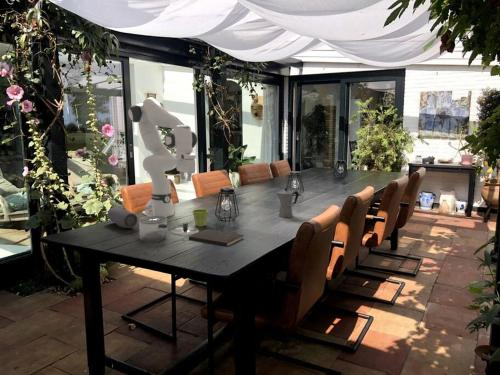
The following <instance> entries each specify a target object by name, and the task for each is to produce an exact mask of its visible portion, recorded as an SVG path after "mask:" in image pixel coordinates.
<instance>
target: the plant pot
mask: <svg viewBox="0 0 500 375" xmlns="http://www.w3.org/2000/svg"><path fill="white" fill-rule="evenodd" d="M191 212H192V214H193V218H194V224H195V225H194V226H196V227H205V226H207V221H208V213H209V210H208V209H205V208H197V209H192V210H191Z"/></svg>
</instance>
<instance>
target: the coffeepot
mask: <svg viewBox="0 0 500 375" xmlns="http://www.w3.org/2000/svg"><path fill="white" fill-rule="evenodd" d="M275 195H276V196H277V197H278V199H279V204H280V206H279V211H278V212H279V213H278V217H280V218H292V217H293V211H292V210H293V209H292V204H293V205H296V203H297V201H298V198H299V192H298V191H297V190H293V191H288V188H287V187H285V188H284V190H283V191H278V192H277V193H275ZM293 195H295V198H294V202H293V201H292V200H293Z"/></svg>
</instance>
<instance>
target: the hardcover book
mask: <svg viewBox="0 0 500 375" xmlns="http://www.w3.org/2000/svg"><path fill="white" fill-rule="evenodd" d="M243 238H244V234H240V233H234V232H227V231H220V230H215V229H210V228H209V229H204V230H202V231H201V230H200V231H199V232H198V233H195V234H191V235H188V240H189V241H194V242H201V243H207V244H211V245H216V244H218V246H222V245H224V247H228V246H231V245H233V244H234V243H236V242H238V241H240V240H242V239H243Z"/></svg>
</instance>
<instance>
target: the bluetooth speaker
mask: <svg viewBox="0 0 500 375" xmlns="http://www.w3.org/2000/svg"><path fill="white" fill-rule="evenodd" d="M106 217H107V219H108V220H110V221H111V222H112V223H114V224H116V225H117V226H118V227H120V228H122V229H131V228H134V227H136V225H137V224H138V223H139V218H138V216H137V215H136V214H135V213H134V212H131V211H129V210H127V209H126V208H125V209H124V208H121V207H119V206H118V207H117V206H113V207H111V208H109V209H108V211H107V216H106Z"/></svg>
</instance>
